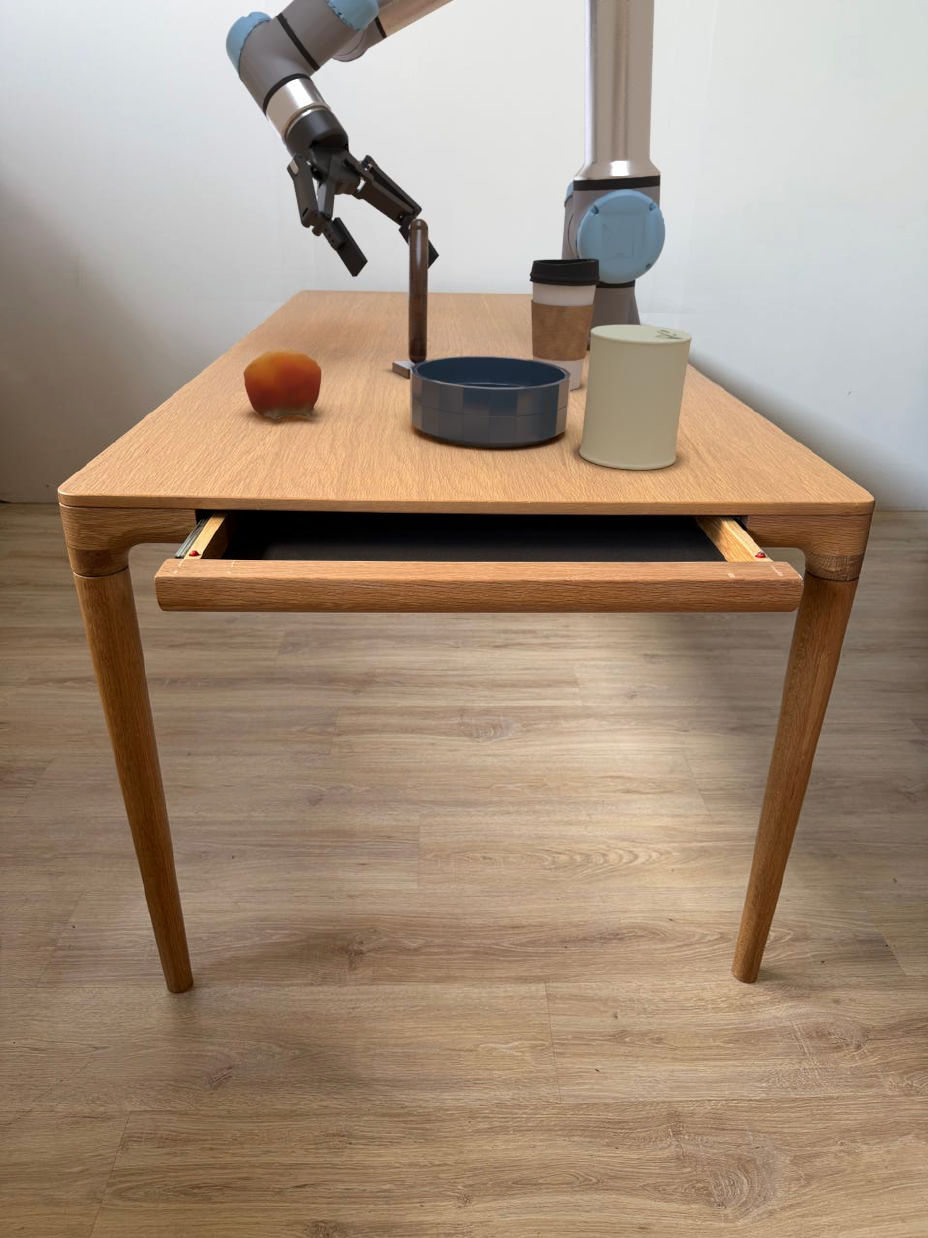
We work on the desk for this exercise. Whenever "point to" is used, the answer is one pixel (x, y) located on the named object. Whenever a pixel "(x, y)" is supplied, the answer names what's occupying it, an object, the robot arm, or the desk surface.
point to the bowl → (489, 400)
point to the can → (634, 396)
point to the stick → (416, 298)
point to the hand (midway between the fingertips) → (397, 265)
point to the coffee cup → (563, 312)
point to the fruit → (283, 383)
